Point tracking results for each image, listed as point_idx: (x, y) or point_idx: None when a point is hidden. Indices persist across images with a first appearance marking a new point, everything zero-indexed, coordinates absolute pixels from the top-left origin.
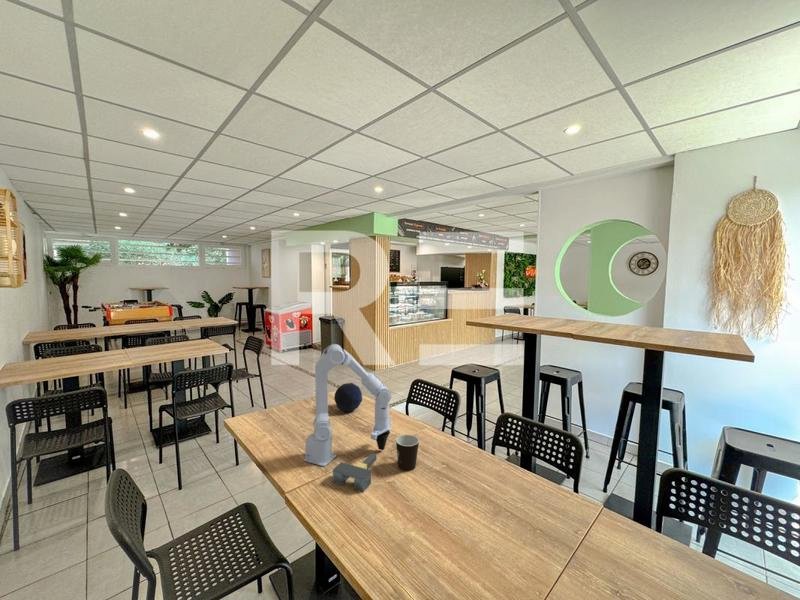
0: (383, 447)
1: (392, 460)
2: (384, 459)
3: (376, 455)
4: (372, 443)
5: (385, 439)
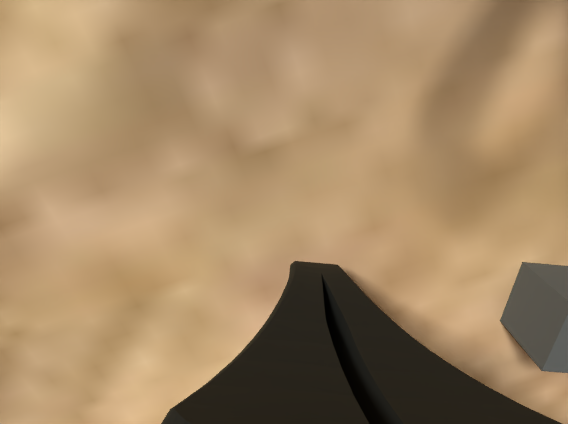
0: (350, 280)
1: (514, 50)
2: (501, 173)
3: (562, 295)
4: None
5: (360, 353)
